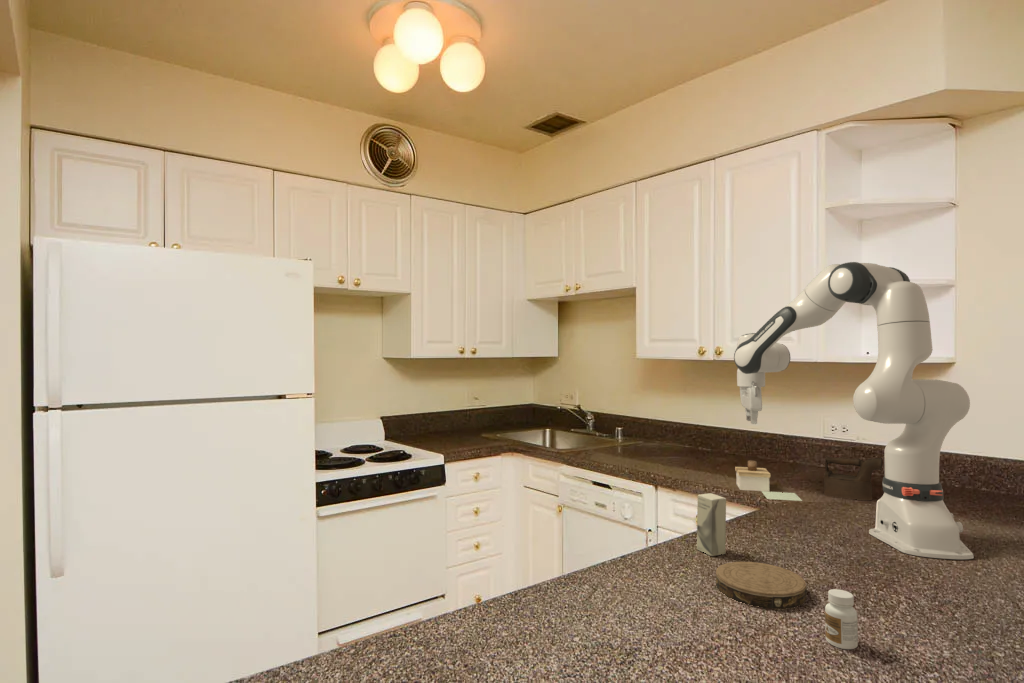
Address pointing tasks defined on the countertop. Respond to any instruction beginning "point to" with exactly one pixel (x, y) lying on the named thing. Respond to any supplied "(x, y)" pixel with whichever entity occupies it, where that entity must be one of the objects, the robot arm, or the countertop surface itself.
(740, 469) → the lid
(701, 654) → the countertop surface
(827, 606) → the pill bottle
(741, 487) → the dish
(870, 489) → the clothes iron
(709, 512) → the box
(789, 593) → the brown round disc
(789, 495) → the mat
